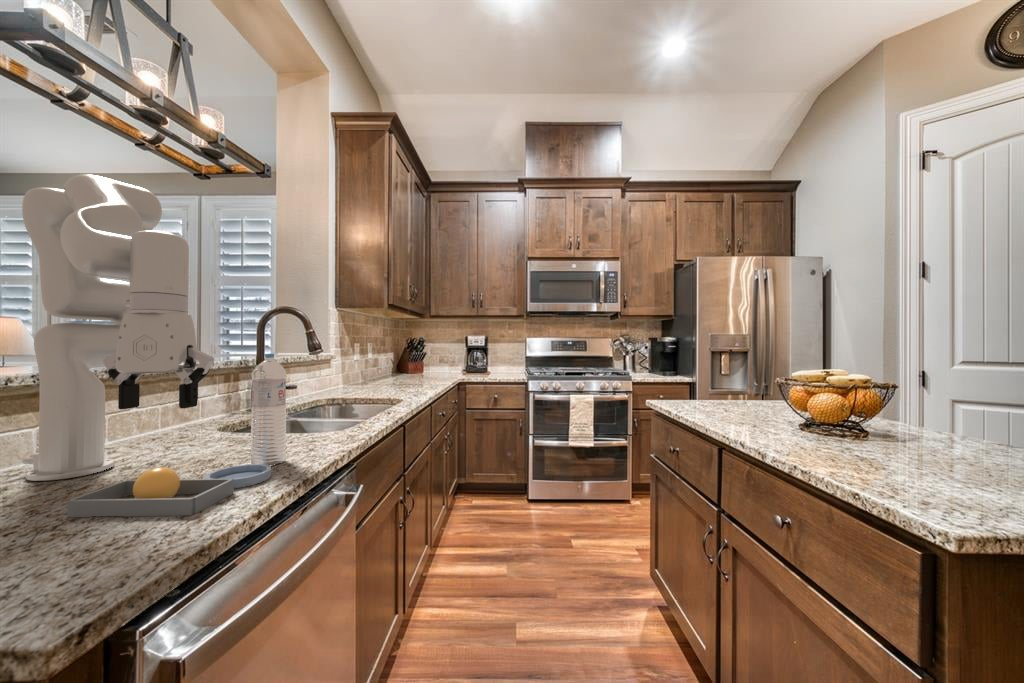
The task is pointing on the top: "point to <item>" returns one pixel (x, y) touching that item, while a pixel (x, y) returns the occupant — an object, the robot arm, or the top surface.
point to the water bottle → (268, 413)
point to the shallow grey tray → (150, 500)
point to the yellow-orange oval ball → (156, 484)
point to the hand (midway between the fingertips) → (158, 407)
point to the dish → (243, 474)
